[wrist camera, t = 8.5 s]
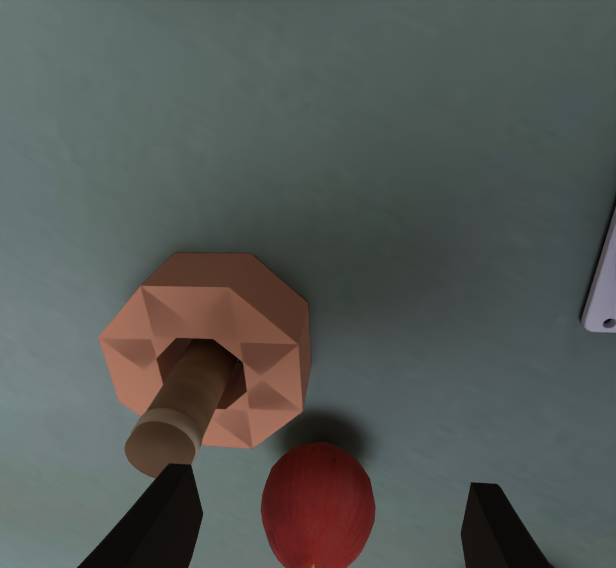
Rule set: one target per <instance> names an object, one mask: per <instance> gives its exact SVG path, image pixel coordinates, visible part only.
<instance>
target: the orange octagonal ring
mask: <svg viewBox="0 0 616 568" xmlns="http://www.w3.org/2000/svg"><path fill="white" fill-rule="evenodd" d="M98 338H99V341H100V344H101V347H102V350H103V354H104V357H105V360H106V363H107V366H108V369H109V372H110V375H111V378H112V381H113V384H114V387H115V390H116V393H117V396H118V399H119V402H121V403H122V404H124V405H125V406H127V407H128V408H130V409H131V410H133V411H134V412H136V413H137V414H138V415H140V416H142V415H143V414H144V413H145V412H146V411H147V409H148V407H149V406H150V404H151V403H152V401H153V400H154V398H155V397H156V395H157V394H158V392H159V390H160V389H161V387H162V386H163V384H164V383H165V381H166V380H167V378H168V376H169V375H170V373H171V372H172V370H173V369H174V367H175V366H176V364H177V363H178V361H179V359H180V358H181V356H182V355H183V353H184V352H185V350H186V349H187V347H188V345H189V344H190V342H191V338H199V339H214V340H215V341H216V342H218V343H219V344H220V345H222V346H223V347H224V348H225V349H227V350H228V351H229V352H231V353H232V354H233V355H234V356H236V357H237V358H238V359H240V360H241V361H242V362H243V363H236V364H235V366H234V369H233V371H232V373H231V375H230V378H229V380H228V382H227V384H226V387H225V389H224V391H223V394H222V396H221V398H220V400H219V403H218V405H217V407H216V409H215V412H214V414H213V416H212V418H211V421H210V423H209V425H208V428H207V430H206V432H205V434H204V437H203V440H202V444H201V445H208V446H222V447H237V448H252V449H253V448H254V447H255V446H257V445H258V444H259V443H261V442H262V441H264V440H265V439H266V438H268V437H269V436H270V435H272V434H273V433H274V432H276V431H277V430H278V429H280V428H281V427H283V426H284V425H285V424H287V423H288V422H289V421H291V420H292V419H293V418H295V417H296V416H297V415H299V414H300V413H301V412H303V408H304V402H305V396H306V391H307V385H308V380H309V374H310V368H311V349H310V328H309V308H308V302H306V301H305V300H304V299H303V298H302V297H301V296H299V295H298V294H297V293H296V292H295V291H294V290H293V289H291V288H290V287H289V286H288V285H287V284H286V283H284V282H283V281H282V280H281V279H280V278H279V277H277V276H276V275H275V274H274V273H273V272H272V271H270V270H269V269H268V268H267V267H266V266H265V265H264V264H262V263H261V262H260V261H259V260H258V259H257V258H255V257H254V256H253V255H252V254H251V253H174V254H173V255H172V256H171V257H170V258H169V259H168V260H167V261H166V262H165V263H164V264H163V265H162V266H161V267H160V268H159V269H158V270H157V271H155V272H154V273H153V274H152V275H151V276H150V277H149V278H148V279H147V280H146V281H145V282H144V283H143V284H142V285H141V286H140V287H139V288H138V289H137V291H136V292H135V293H134V294H133V296H132V297H131V298H130V299H129V301H128V302H127V303H126V304H125V305H124V307H123V308H122V309H121V310H120V312H119V313H118V314H117V315H116V316H115V318H114V319H113V320H112V321H111V323H110V324H109V325H108V326H107V328H106V329H105V330H104V331H103V332H102V334H101V335H100V336H99V337H98Z"/></svg>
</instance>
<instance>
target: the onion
mask: <svg viewBox="0 0 616 568" xmlns="http://www.w3.org/2000/svg"><path fill="white" fill-rule="evenodd" d="M261 515H262V522H263V526H264V529H265V532H266V536H267V539H268V542H269V545H270V547H271V549H272V551H273V553H274V554H275V556H276V557H277V559H278V560H279V562H280V563H281V564H282V565H283V566H284V567H285V568H347V567H348V566H349V565H350V564H351V563H352V562H353V561H354V560H355V559H356V558H357V557H358V556H359V554H360V553H361V552H362V550H363V548H364V546H365V544H366V541H367V539H368V537H369V535H370V533H371V530H372V527H373V524H374V520H375V502H374V497H373V492H372V487H371V482H370V478H369V477H368V475H367V473H366V472H365V470H364V468H363V467H362V466H361V465H360V463H359V462H358V461H357V460H356V459H355V457H353V456H352V455H351V454H349V453H348V452H346V451H344V450H342V449H341V448H339V447H337V446H334V445H332V444H331V443H329V442H327V441H319V442H313V443H307V444H302V445H299V446H296V447H294V448H291V449H290V450H289V451H288V452H287V453H286V454H285V455H283V456H282V457H281V458H280V459H279V460H278V462H277V463H276V464H275V465H274V466H273V467H272V469H271V471H270V474H269V476H268V479H267V481H266V484H265V487H264V491H263V494H262V502H261Z"/></svg>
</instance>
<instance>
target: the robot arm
mask: <svg viewBox="0 0 616 568" xmlns="http://www.w3.org/2000/svg"><path fill="white" fill-rule="evenodd" d="M610 318H611V320H610V321H609V322H608V323H605V324H603V323H604V321H605V320H607V319H610ZM581 323H582V324H583V326H584V327H585V328H586V329H587V330H588V331H591V332H612V333H616V207H615V211H614V214H613V217H612V220H611V224H610V227H609V230H608V234H607V237H606V240H605V243H604V247H603V250H602V253H601V257H600V260H599V263H598V266H597V270H596V273H595V276H594V280H593V283H592V286H591V289H590V293H589V296H588V299H587V302H586V306H585V309H584V312H583V316H582V320H581ZM202 517H203V511H202V507H201V503H200V499H199V495H198V491H197V486H196V482H195V478H194V474H193V470H192V466H191V465H190V464H174V463H169V464H168V465H167V466H166V467H165V468H164V469H163V470H162V472H161V473H160V474H159V475H158V476H157V478H156V479H155V480H154V481H153V482H152V484H151V485H150V486H149V487H148V488H147V490H146V491H145V492H144V493H143V494H142V496H141V497H140V498H139V499H138V500H137V502H136V503H135V504H134V505H133V506H132V507H131V509H130V510H129V511H128V512H127V513H126V514H125V516H124V517H123V518H122V519H121V520H120V521H119V522H118V523H117V525H116V526H115V527H114V528H113V529H112V530H111V531H110V532H109V534H108V535H107V536H106V537H105V538H104V539H103V540H102V541H101V543H100V544H99V545H98V546H97V547H96V548H95V549H94V550H93V551H92V552H91V553H90V554H89V556H88V557H87V558H86V559H85V560H84V561H83V562H82V563H81V564H80V565H79V566H78V567H77V568H188V567H189V564H190V561H191V558H192V555H193V552H194V548H195V544H196V541H197V537H198V533H199V529H200V525H201V521H202ZM461 539H462V545H463V552H464V558H465V564H466V568H552V566H551V565H550V563H549V562H548V561H547V559H546V558H545V556H544V555H543V553H542V552H541V550H540V549H539V547H538V546H537V544H536V543H535V541H534V540H533V538H532V537H531V535H530V534H529V532H528V531H527V529H526V528H525V526H524V524H523V523H522V521H521V520H520V518H519V517H518V515H517V513H516V512H515V510H514V509H513V507H512V505H511V504H510V502H509V500H508V499H507V497H506V495H505V494H504V492H503V490H502V489H501V487H500V486H499V485H498V484H489V483H473V482H471V485H470V490H469V495H468V500H467V505H466V510H465V515H464V520H463V525H462V530H461Z"/></svg>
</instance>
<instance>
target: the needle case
mask: <svg viewBox="0 0 616 568" xmlns="http://www.w3.org/2000/svg"><path fill="white" fill-rule="evenodd" d="M237 359H238V358H237V357H236V356H234V355H233V354H232V353H231V352H229V351H228V350H227V349H225V348H224V347H223V346H222V345H220V344H219V343H218V342H216V341H215V340H214V339H199V338H193V339H192V341H191V342H190V344H189V345H188V347H187V349H186V350H185V352H184V353H183V355H182V356H181V358H180V359H179V361H178V363H177V364H176V366H175V367H174V369H173V370H172V372H171V373H170V375H169V376H168V378H167V380H166V381H165V383H164V384H163V386H162V387H161V389H160V390H159V392H158V394H157V395H156V397H155V398H154V400H153V401H152V403H151V404H150V406H149V407H148V409H147V411H146V412H145V413H144V414H143V415H142V416H141V417H140V419H139V420H138V422H137V424H136V425H135V427H134V428H133V430H132V432H131V435H130V437H129V439H128V440H127V442H126V444H125V454H126V456H127V458H128V460H129V462H130V463H131V464H132V465H133V466H134V467H135V468H136V469H137V470H139V471H140V472H142V473H144V474H146V475H148V476H150V477H153V478H157V476H158V475H159V474H160V473H161V472H162V470H163V469H164V468H165V467H166V466H167V465H168V464H169V463H174V464H190V465H191V464H192V463H193V461H194V460H195V458H196V456H197V454H198V451H199V449H200V447H201V444H202V440H203V437H204V434H205V432H206V430H207V428H208V425H209V423H210V421H211V418H212V416H213V414H214V412H215V409H216V407H217V405H218V403H219V400H220V398H221V396H222V394H223V391H224V389H225V387H226V384H227V382H228V380H229V378H230V375H231V373H232V371H233V369H234V366H235V364H236V362H237Z"/></svg>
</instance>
